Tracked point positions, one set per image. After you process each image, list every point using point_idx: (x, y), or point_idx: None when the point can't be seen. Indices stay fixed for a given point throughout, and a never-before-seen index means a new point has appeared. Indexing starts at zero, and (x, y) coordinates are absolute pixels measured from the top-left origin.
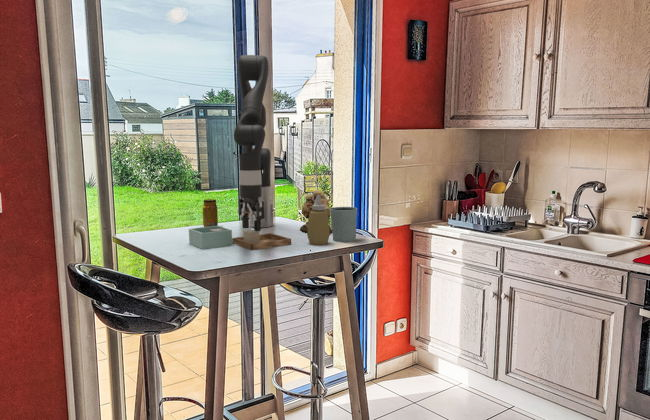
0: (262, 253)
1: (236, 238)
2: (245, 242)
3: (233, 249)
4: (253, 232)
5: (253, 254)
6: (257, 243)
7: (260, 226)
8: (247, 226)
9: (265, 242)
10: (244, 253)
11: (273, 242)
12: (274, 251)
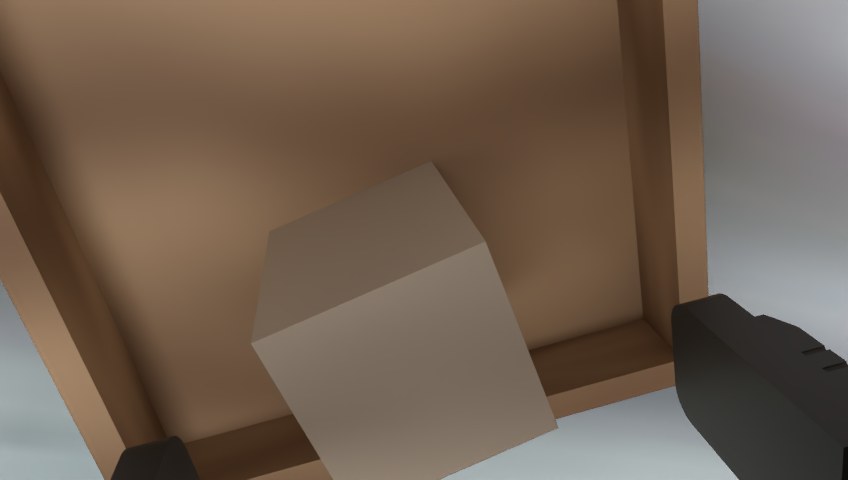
0: (796, 224)
1: None
2: None
3: None
4: (535, 371)
5: None
6: (706, 289)
7: (825, 354)
8: (176, 476)
9: (702, 159)
10: None
11: (686, 1)
12: (790, 47)
